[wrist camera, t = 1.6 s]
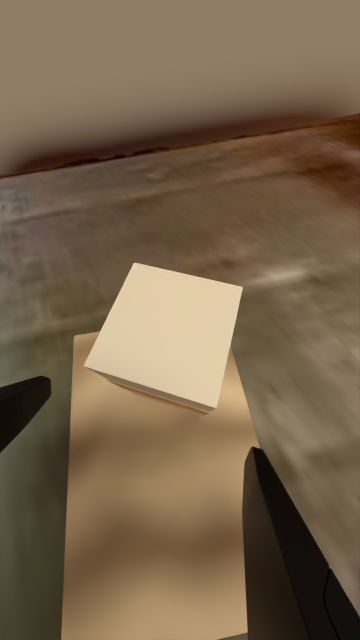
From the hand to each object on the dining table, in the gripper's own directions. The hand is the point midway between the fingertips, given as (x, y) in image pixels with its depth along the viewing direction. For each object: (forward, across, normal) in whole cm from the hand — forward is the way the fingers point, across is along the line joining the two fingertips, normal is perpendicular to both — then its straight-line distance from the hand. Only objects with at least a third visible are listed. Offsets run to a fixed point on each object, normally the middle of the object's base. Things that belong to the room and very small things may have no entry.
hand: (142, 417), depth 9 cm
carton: (+9, 0, +4) cm, 9 cm away
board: (+6, 0, +9) cm, 11 cm away
